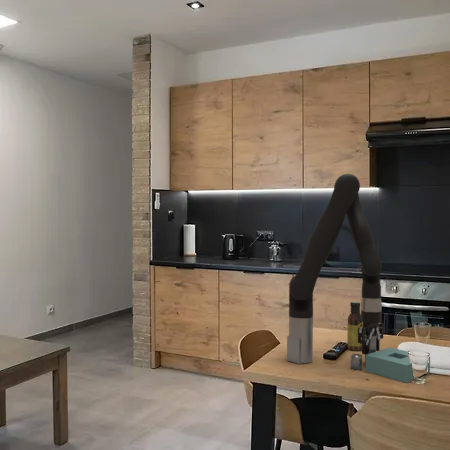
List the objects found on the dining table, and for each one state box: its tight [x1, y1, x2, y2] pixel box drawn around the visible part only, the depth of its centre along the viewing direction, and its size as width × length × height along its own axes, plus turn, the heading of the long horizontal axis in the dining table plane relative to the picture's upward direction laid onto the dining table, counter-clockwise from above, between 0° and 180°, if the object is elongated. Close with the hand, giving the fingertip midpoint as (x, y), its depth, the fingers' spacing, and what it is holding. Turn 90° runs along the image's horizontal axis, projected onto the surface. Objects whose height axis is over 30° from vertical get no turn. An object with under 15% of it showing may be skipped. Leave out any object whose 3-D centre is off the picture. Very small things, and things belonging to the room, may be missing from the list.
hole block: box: [365, 347, 431, 384], centre depth 183 cm, size 16×16×6 cm
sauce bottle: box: [347, 300, 364, 352], centre depth 214 cm, size 7×6×20 cm
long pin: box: [364, 335, 377, 365], centre depth 193 cm, size 4×4×11 cm
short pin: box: [350, 353, 363, 371], centre depth 187 cm, size 4×4×5 cm
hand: (370, 352), depth 193 cm, fingers open, 7 cm apart
